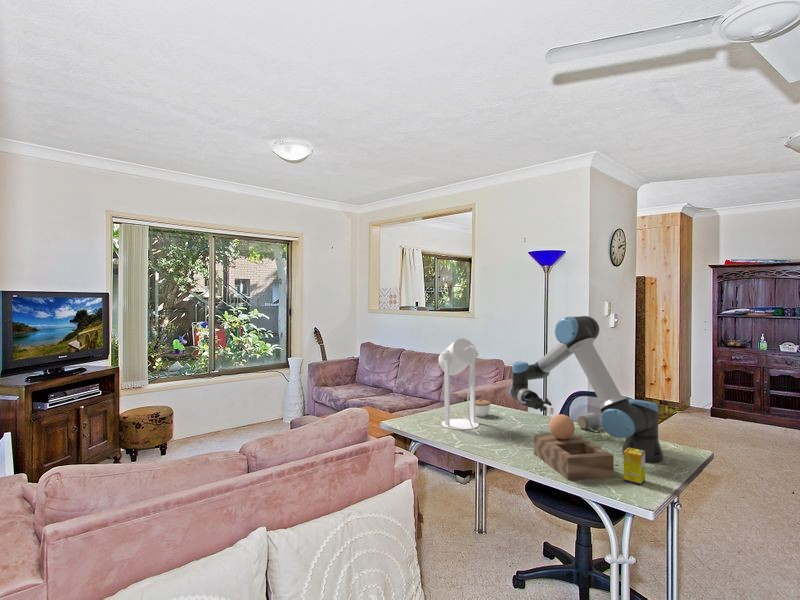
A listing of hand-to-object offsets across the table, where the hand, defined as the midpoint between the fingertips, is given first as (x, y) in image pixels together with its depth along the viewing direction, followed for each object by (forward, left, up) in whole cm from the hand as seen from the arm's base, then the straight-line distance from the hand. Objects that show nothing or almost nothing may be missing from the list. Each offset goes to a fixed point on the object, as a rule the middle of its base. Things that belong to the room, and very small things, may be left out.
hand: (551, 410), depth 200 cm
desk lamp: (+44, -25, -18) cm, 54 cm away
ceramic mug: (-16, -42, -18) cm, 48 cm away
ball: (-4, +7, -5) cm, 9 cm away
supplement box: (-30, +23, -18) cm, 41 cm away
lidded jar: (+40, -49, -18) cm, 66 cm away
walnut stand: (-8, +13, -18) cm, 23 cm away
